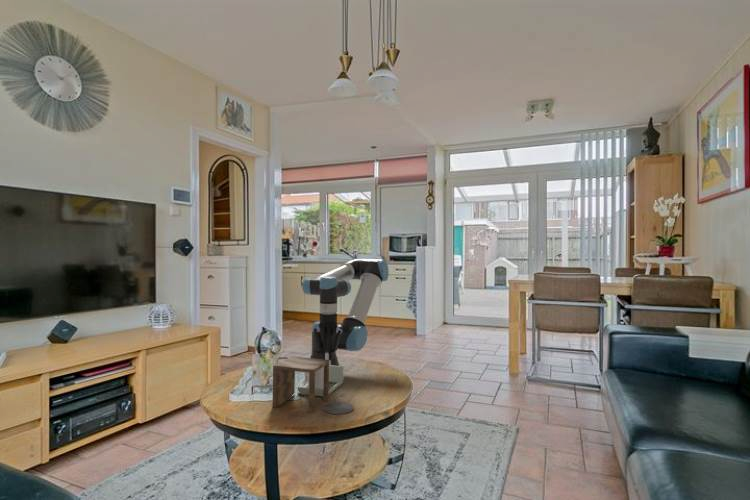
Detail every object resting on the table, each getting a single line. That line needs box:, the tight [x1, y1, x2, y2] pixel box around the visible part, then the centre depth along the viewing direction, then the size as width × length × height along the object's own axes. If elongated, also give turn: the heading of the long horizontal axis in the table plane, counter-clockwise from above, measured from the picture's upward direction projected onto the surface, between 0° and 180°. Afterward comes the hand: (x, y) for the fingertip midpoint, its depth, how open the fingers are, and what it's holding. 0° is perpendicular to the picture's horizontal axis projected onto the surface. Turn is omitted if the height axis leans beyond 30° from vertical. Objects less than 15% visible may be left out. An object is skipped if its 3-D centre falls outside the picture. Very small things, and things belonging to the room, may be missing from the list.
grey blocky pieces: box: [297, 365, 344, 397], centre depth 172 cm, size 20×12×7 cm, turn 163°
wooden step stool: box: [271, 355, 330, 414], centre depth 155 cm, size 14×16×15 cm
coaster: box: [323, 401, 355, 415], centre depth 150 cm, size 11×11×1 cm
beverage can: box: [307, 367, 324, 389], centre depth 168 cm, size 8×8×12 cm
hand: (327, 367), depth 178 cm, fingers closed
